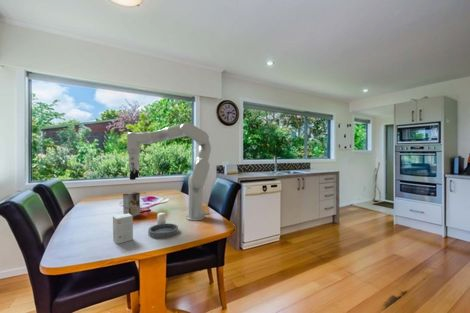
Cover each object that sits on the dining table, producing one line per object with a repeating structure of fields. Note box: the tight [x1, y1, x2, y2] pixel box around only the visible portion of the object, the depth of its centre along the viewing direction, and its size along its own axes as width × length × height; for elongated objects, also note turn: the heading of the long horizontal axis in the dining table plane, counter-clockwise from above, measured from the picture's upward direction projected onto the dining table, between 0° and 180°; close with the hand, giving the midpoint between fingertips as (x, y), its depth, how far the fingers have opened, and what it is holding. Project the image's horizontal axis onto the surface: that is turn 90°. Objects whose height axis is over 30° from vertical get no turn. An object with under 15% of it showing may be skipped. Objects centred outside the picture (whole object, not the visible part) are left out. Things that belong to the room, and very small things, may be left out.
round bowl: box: [147, 222, 179, 240], centre depth 130 cm, size 16×16×3 cm
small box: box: [112, 213, 134, 245], centre depth 119 cm, size 8×6×13 cm
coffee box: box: [122, 191, 141, 217], centre depth 162 cm, size 9×6×16 cm
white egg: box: [156, 212, 167, 225], centre depth 144 cm, size 5×5×7 cm
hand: (134, 178), depth 145 cm, fingers open, 9 cm apart
